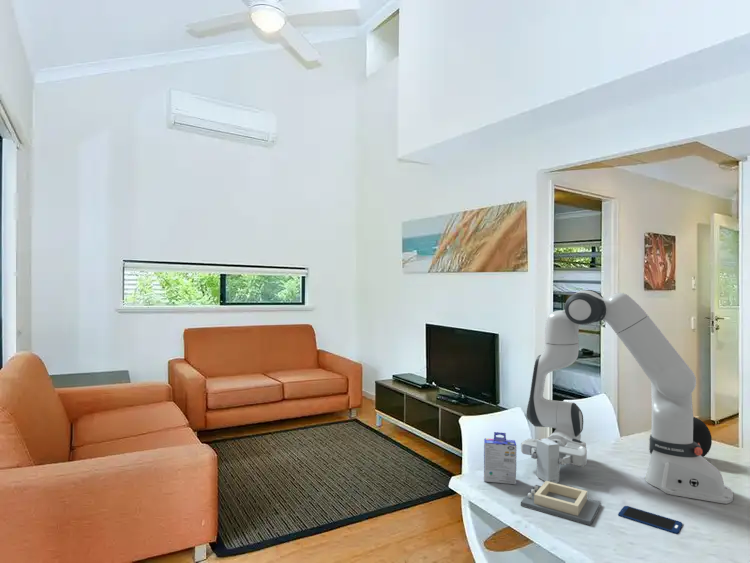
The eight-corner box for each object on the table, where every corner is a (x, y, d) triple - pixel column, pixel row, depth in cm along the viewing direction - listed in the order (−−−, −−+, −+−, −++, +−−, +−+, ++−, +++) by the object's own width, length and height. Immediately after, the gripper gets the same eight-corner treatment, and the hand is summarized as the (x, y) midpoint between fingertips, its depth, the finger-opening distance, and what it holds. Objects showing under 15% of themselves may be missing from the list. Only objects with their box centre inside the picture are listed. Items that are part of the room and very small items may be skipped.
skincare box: (559, 482, 146) (561, 444, 146) (548, 484, 145) (549, 445, 145) (546, 474, 152) (547, 437, 152) (534, 476, 151) (536, 438, 150)
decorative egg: (662, 455, 172) (662, 414, 172) (683, 450, 177) (684, 410, 177) (697, 467, 160) (698, 423, 161) (719, 462, 166) (719, 419, 166)
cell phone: (677, 536, 117) (677, 533, 117) (617, 517, 126) (617, 514, 126) (683, 525, 122) (683, 522, 122) (624, 507, 131) (624, 504, 131)
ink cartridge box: (515, 478, 150) (515, 432, 150) (516, 485, 144) (517, 438, 144) (483, 475, 152) (484, 430, 152) (483, 482, 146) (484, 435, 146)
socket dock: (600, 505, 132) (601, 492, 132) (590, 525, 121) (590, 511, 121) (536, 488, 142) (536, 476, 142) (520, 505, 131) (520, 492, 131)
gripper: (528, 431, 165) (514, 442, 154) (590, 443, 153) (581, 456, 142) (527, 449, 165) (514, 461, 154) (590, 462, 153) (581, 477, 142)
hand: (547, 459), depth 148 cm, fingers closed on skincare box, 7 cm apart
